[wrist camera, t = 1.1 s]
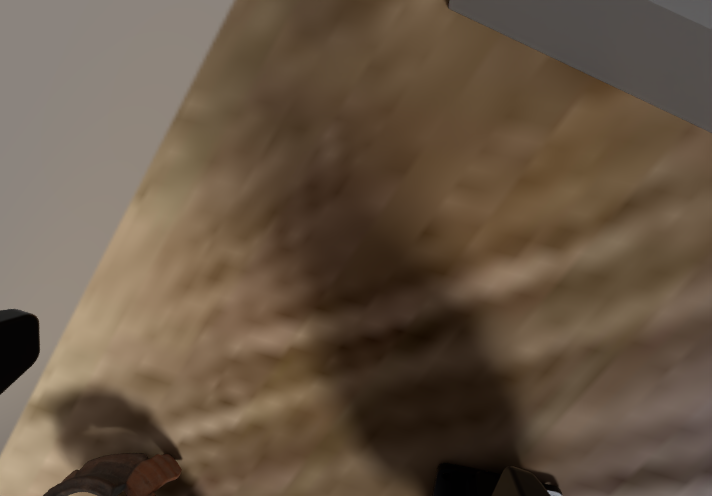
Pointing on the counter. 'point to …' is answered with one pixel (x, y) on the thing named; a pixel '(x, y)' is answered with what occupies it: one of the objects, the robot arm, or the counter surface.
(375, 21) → the counter surface
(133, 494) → the brown chain link decor
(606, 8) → the switch strip
